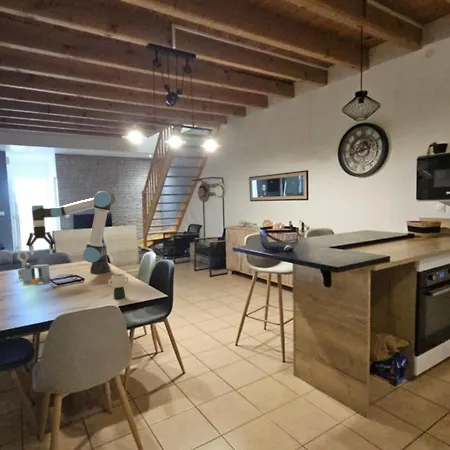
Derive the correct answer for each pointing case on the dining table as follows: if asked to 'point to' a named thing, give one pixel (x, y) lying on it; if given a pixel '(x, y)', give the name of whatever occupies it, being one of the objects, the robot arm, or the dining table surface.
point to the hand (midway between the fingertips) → (41, 254)
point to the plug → (38, 277)
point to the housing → (30, 272)
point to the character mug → (118, 285)
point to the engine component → (22, 262)
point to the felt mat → (63, 275)
